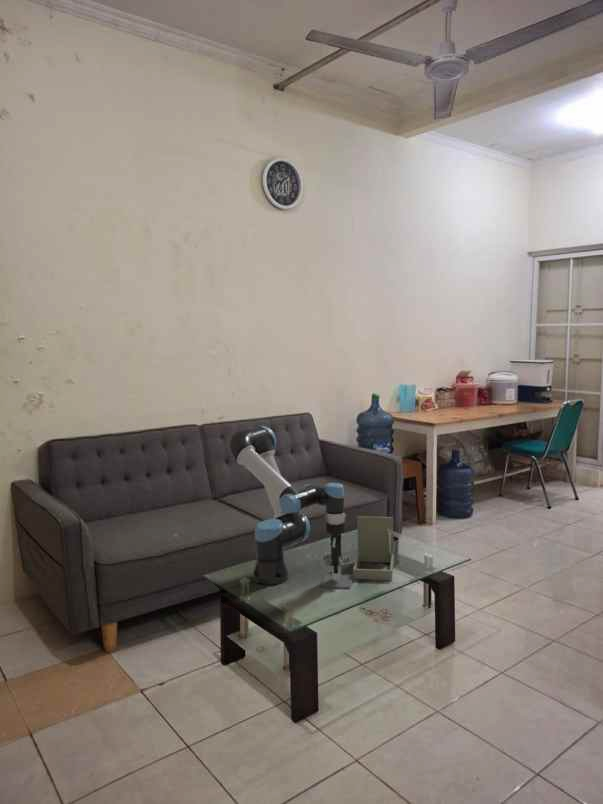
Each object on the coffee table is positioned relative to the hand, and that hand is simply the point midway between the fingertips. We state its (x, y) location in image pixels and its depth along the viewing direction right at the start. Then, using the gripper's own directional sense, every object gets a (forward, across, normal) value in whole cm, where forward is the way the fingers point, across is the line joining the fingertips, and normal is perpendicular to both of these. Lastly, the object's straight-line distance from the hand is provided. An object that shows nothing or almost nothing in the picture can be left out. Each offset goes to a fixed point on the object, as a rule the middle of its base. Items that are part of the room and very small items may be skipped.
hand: (337, 578), depth 238 cm
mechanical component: (+1, 0, 0) cm, 1 cm away
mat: (+2, 0, 0) cm, 2 cm away
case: (+2, +14, -14) cm, 20 cm away
